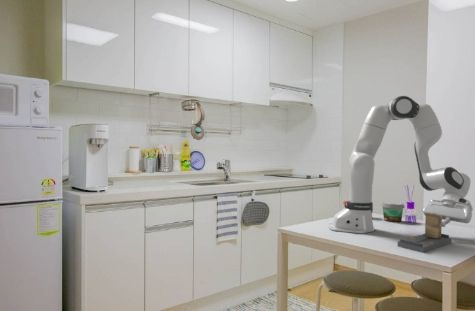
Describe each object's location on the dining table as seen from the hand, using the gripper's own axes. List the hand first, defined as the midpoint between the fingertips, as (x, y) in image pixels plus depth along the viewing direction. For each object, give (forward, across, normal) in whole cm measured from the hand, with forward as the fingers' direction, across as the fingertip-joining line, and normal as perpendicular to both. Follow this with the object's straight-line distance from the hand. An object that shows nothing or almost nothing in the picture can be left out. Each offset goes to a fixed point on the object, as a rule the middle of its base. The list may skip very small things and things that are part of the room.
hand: (440, 225), depth 171 cm
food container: (-7, -33, +17) cm, 37 cm away
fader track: (+14, 0, -6) cm, 16 cm away
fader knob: (+8, 0, -2) cm, 8 cm away
